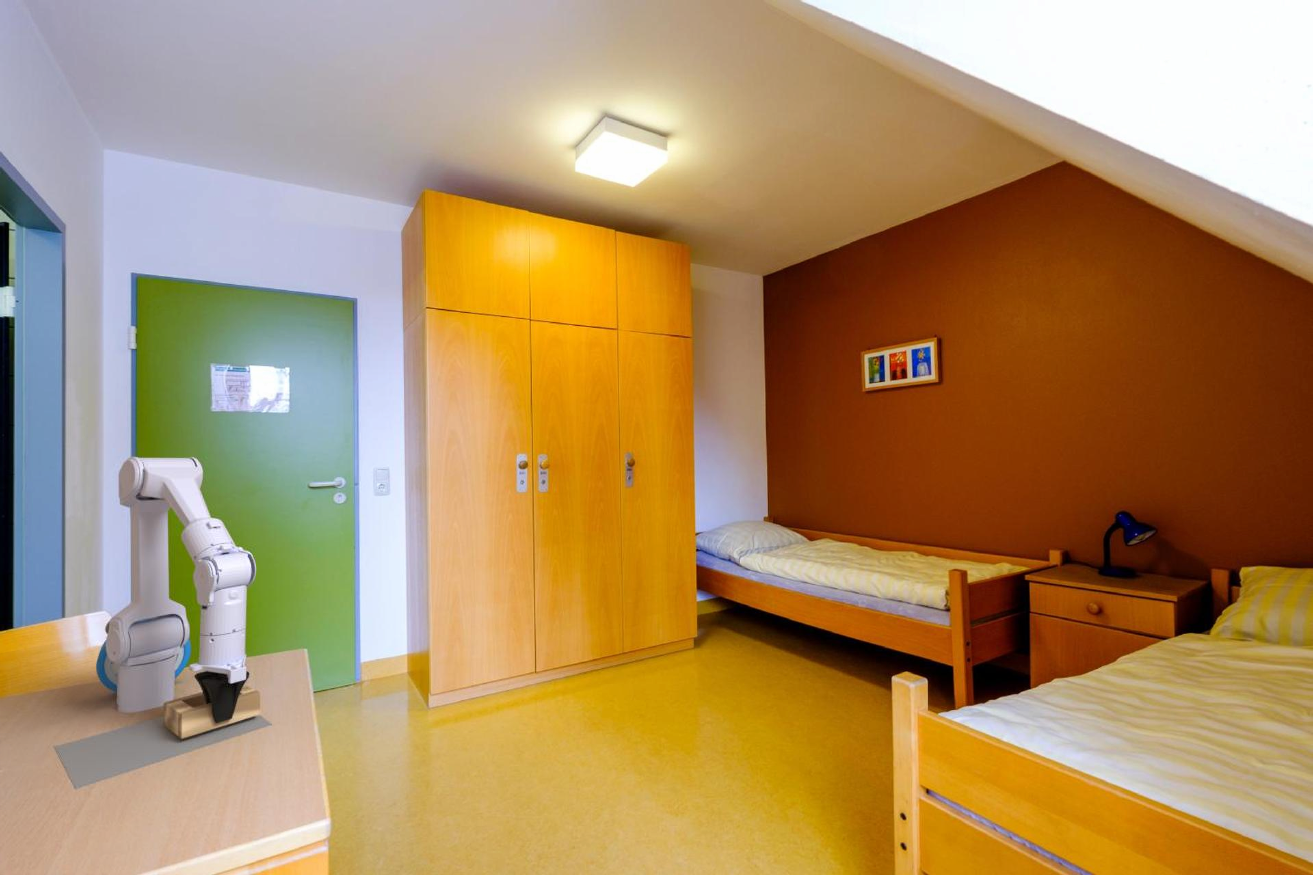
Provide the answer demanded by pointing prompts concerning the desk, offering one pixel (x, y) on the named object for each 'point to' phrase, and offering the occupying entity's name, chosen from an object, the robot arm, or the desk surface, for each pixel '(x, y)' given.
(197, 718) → the oak frame
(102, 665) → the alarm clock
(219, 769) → the desk surface
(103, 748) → the slate board
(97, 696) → the desk surface
